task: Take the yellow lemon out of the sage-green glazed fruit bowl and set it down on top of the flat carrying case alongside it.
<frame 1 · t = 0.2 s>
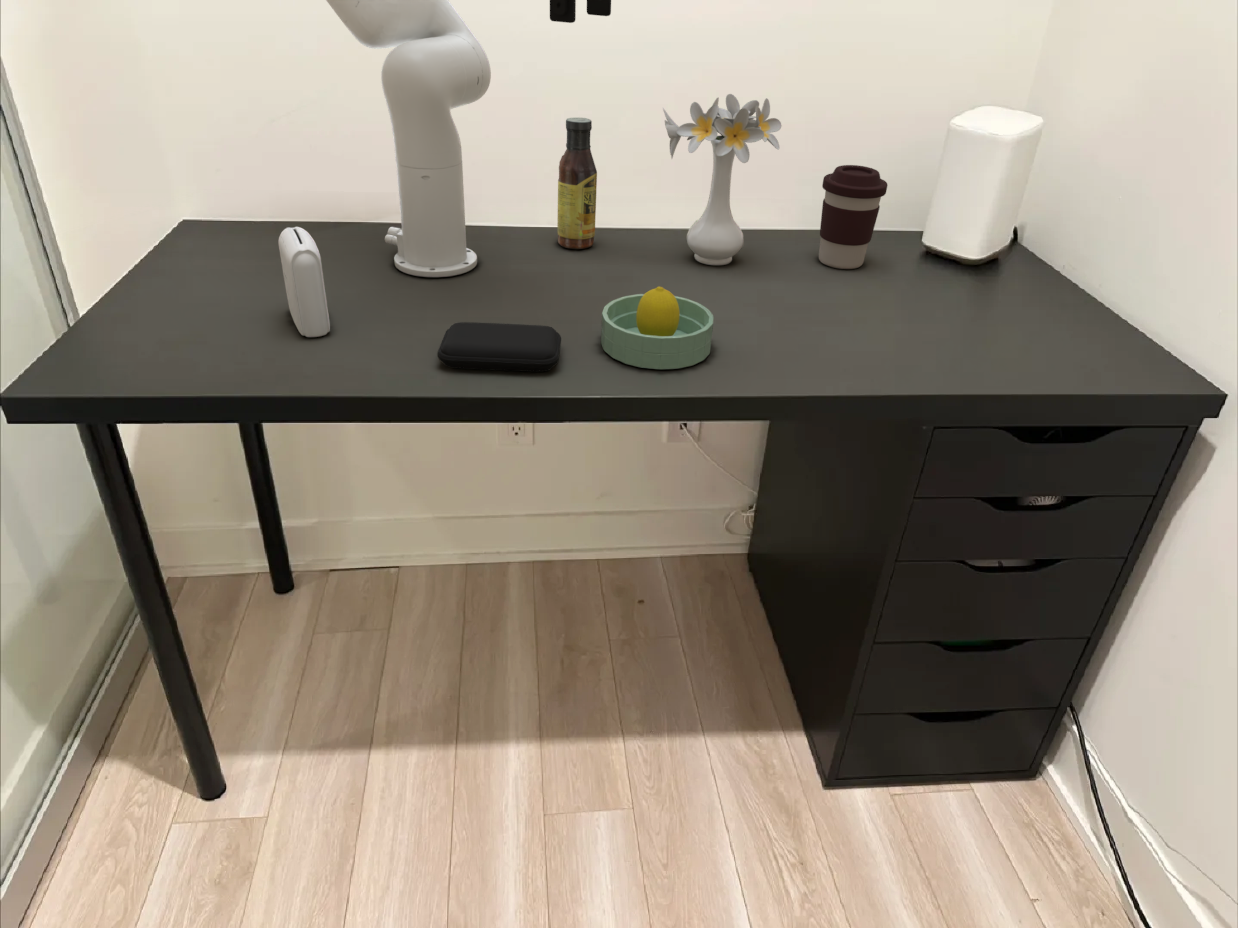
hand: (581, 18, 110), 36 cm above the table, tool pointing down, fingers open, 9 cm apart
lemon: (655, 346, 116), resting on fruit bowl
fruit bowl: (655, 346, 116), on the table
flower vase: (709, 261, 145), on the table
coffee cup: (840, 263, 147), on the table
sauce bottle: (576, 245, 149), on the table
photo printer: (310, 324, 118), on the table
carrying case: (501, 356, 112), on the table
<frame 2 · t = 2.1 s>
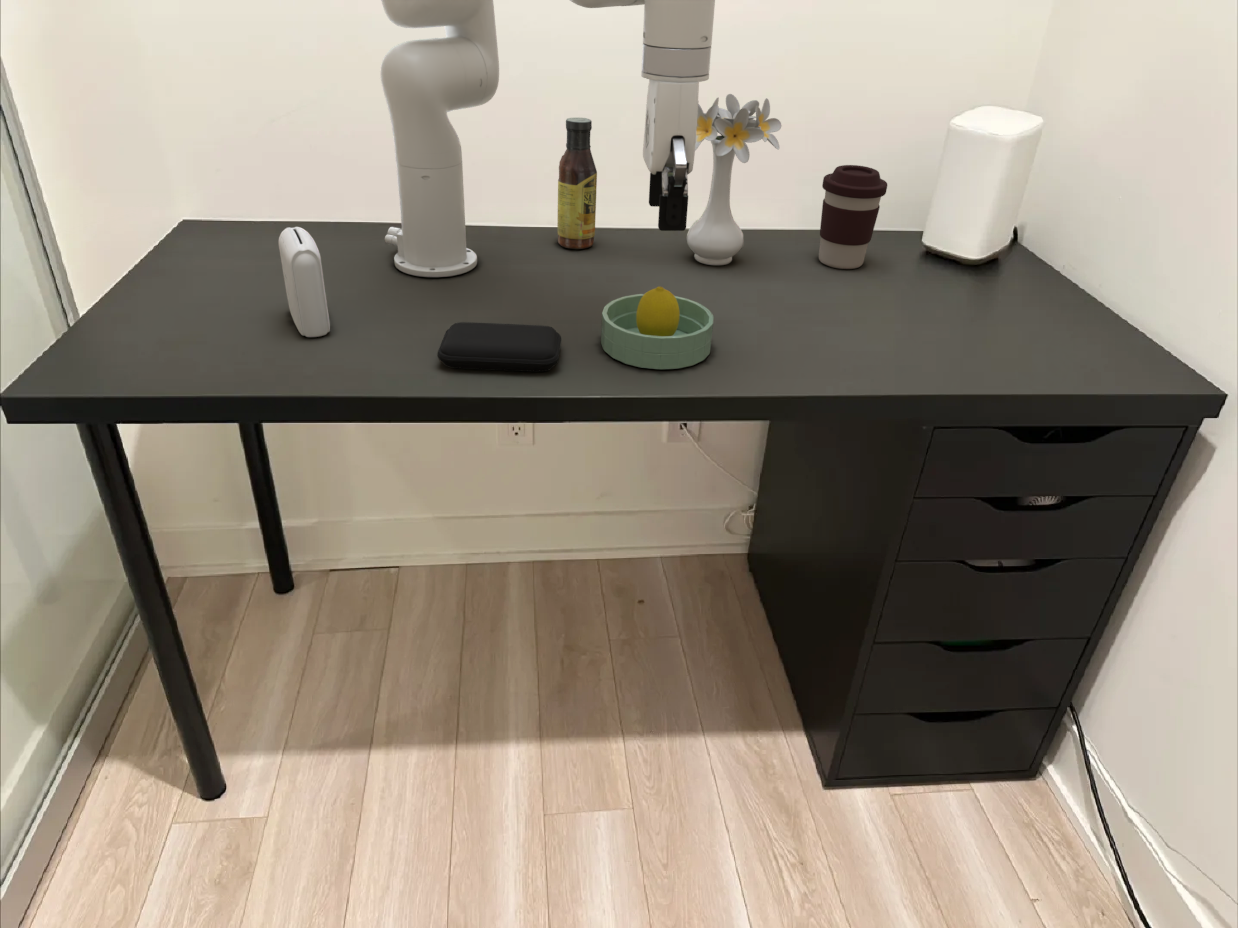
hand: (666, 217, 107), 17 cm above the table, tool pointing down, fingers open, 9 cm apart
nothing on the table moved.
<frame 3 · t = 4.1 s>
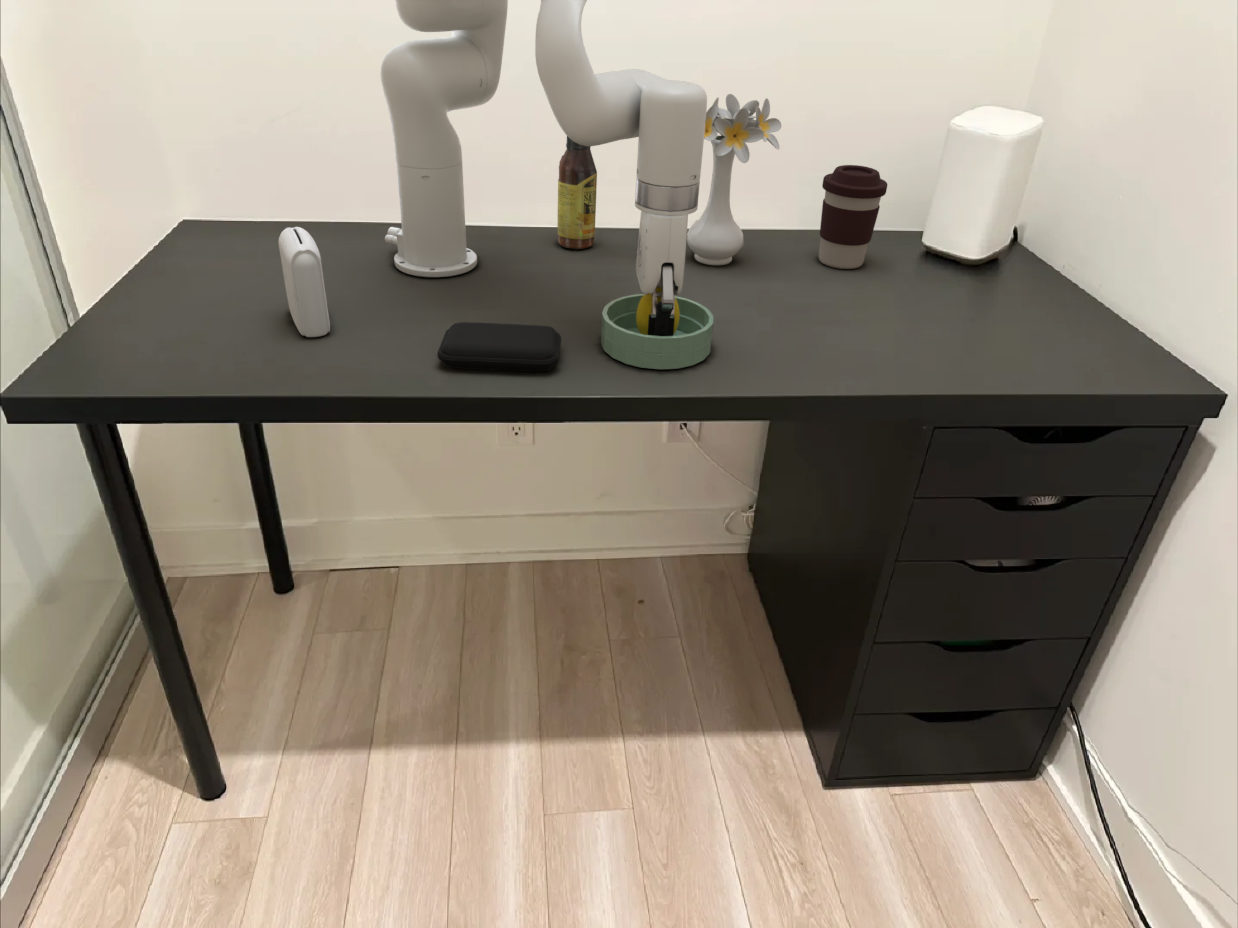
hand: (656, 333, 115), 2 cm above the table, tool pointing down, fingers closed on lemon, 5 cm apart
lemon: (655, 346, 116), resting on fruit bowl, touching gripper
everything else where it was.
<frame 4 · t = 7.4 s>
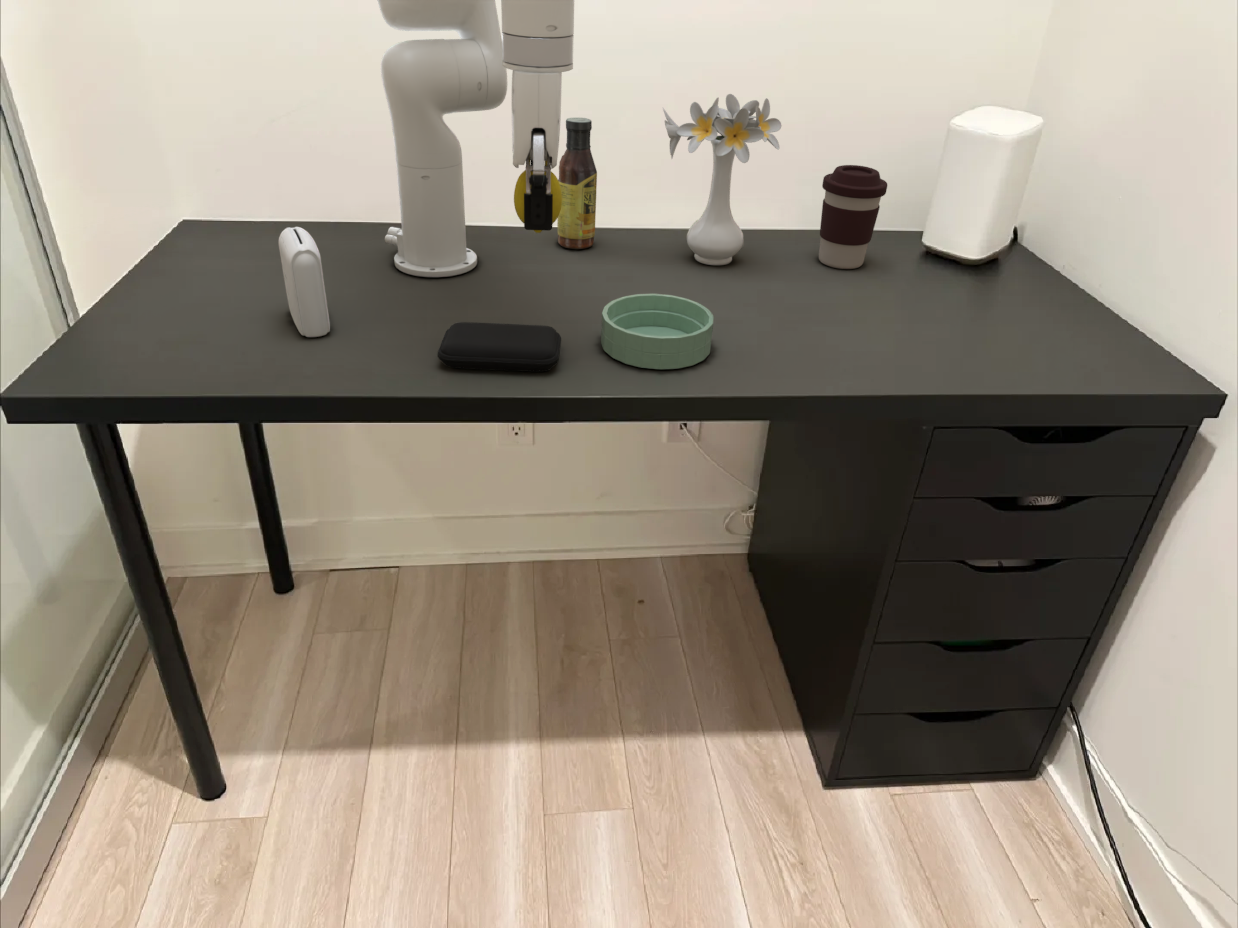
hand: (537, 218, 104), 17 cm above the table, tool pointing down, fingers closed on lemon, 5 cm apart
lemon: (538, 234, 105), point 15 cm above the table, touching gripper
everything else where it was.
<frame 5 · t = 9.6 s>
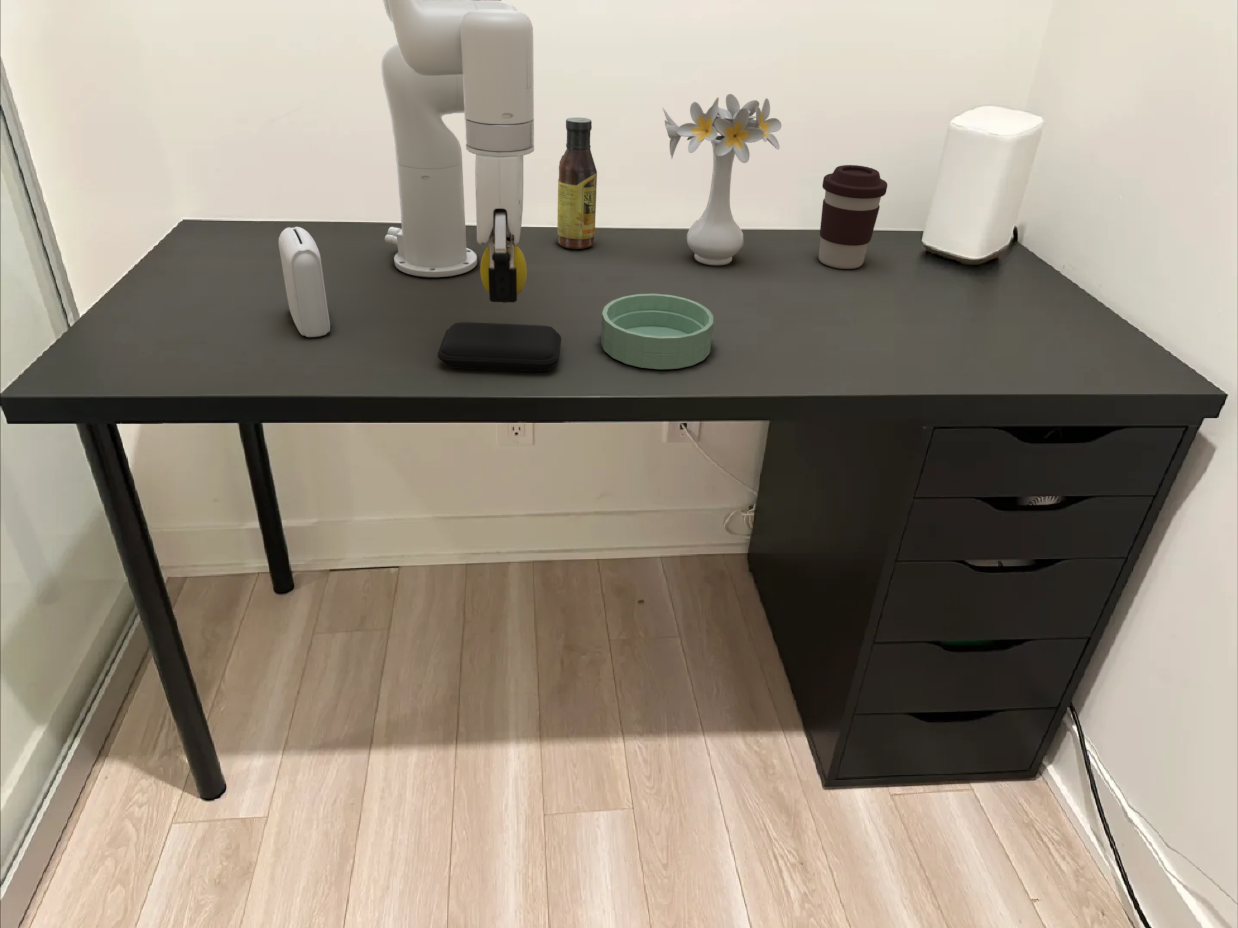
hand: (504, 289, 107), 9 cm above the table, tool pointing down, fingers closed on lemon, 5 cm apart
lemon: (504, 304, 108), point 7 cm above the table, touching gripper
everything else where it was.
when the fingers open (5 cm above the table, at t = 11.0 s): lemon stays where it is, resting on carrying case.
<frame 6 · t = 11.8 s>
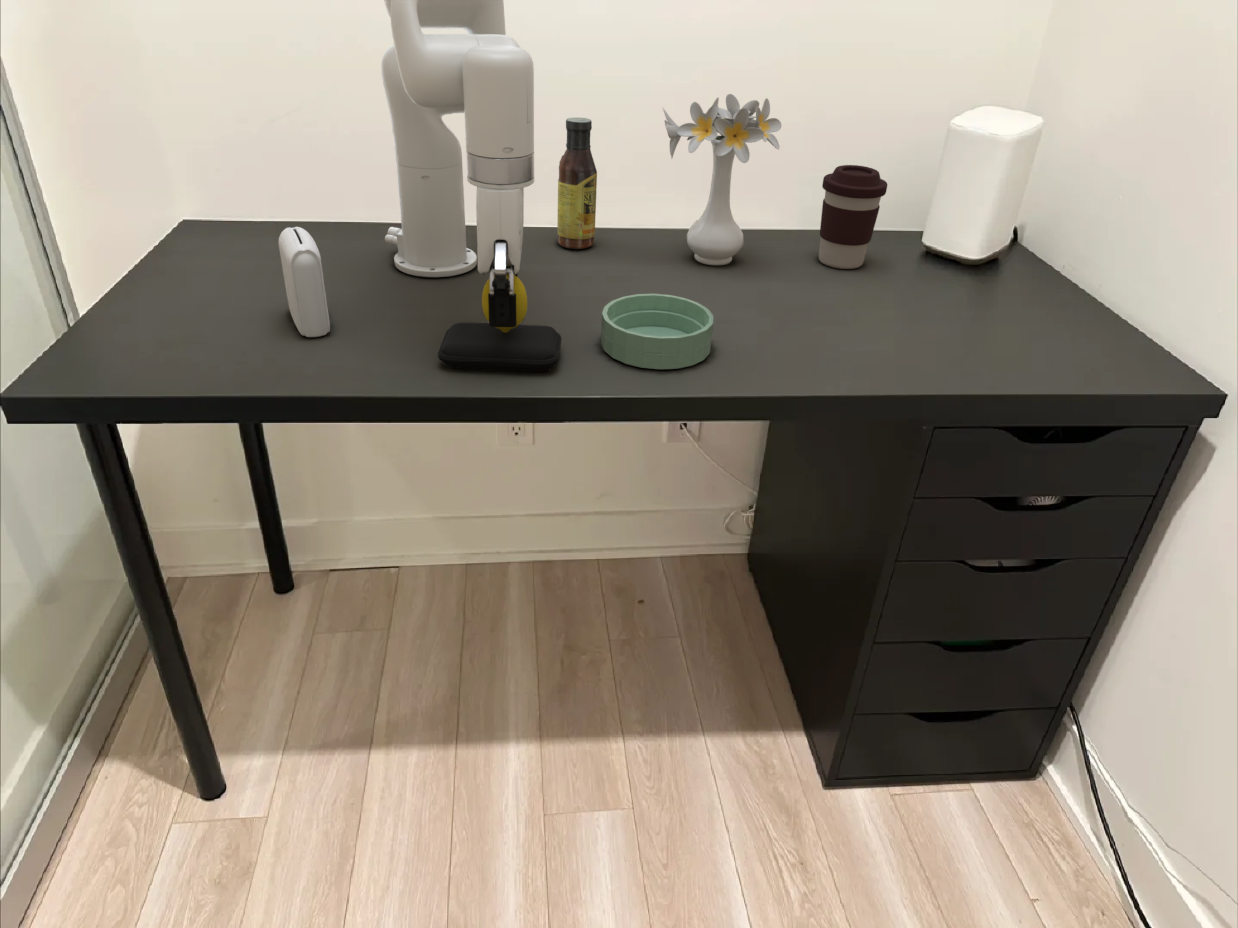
hand: (504, 309, 109), 6 cm above the table, tool pointing down, fingers open, 9 cm apart
lemon: (505, 333, 111), point 3 cm above the table, touching carrying case
carrying case: (501, 356, 112), on the table, touching lemon
everything else where it was.
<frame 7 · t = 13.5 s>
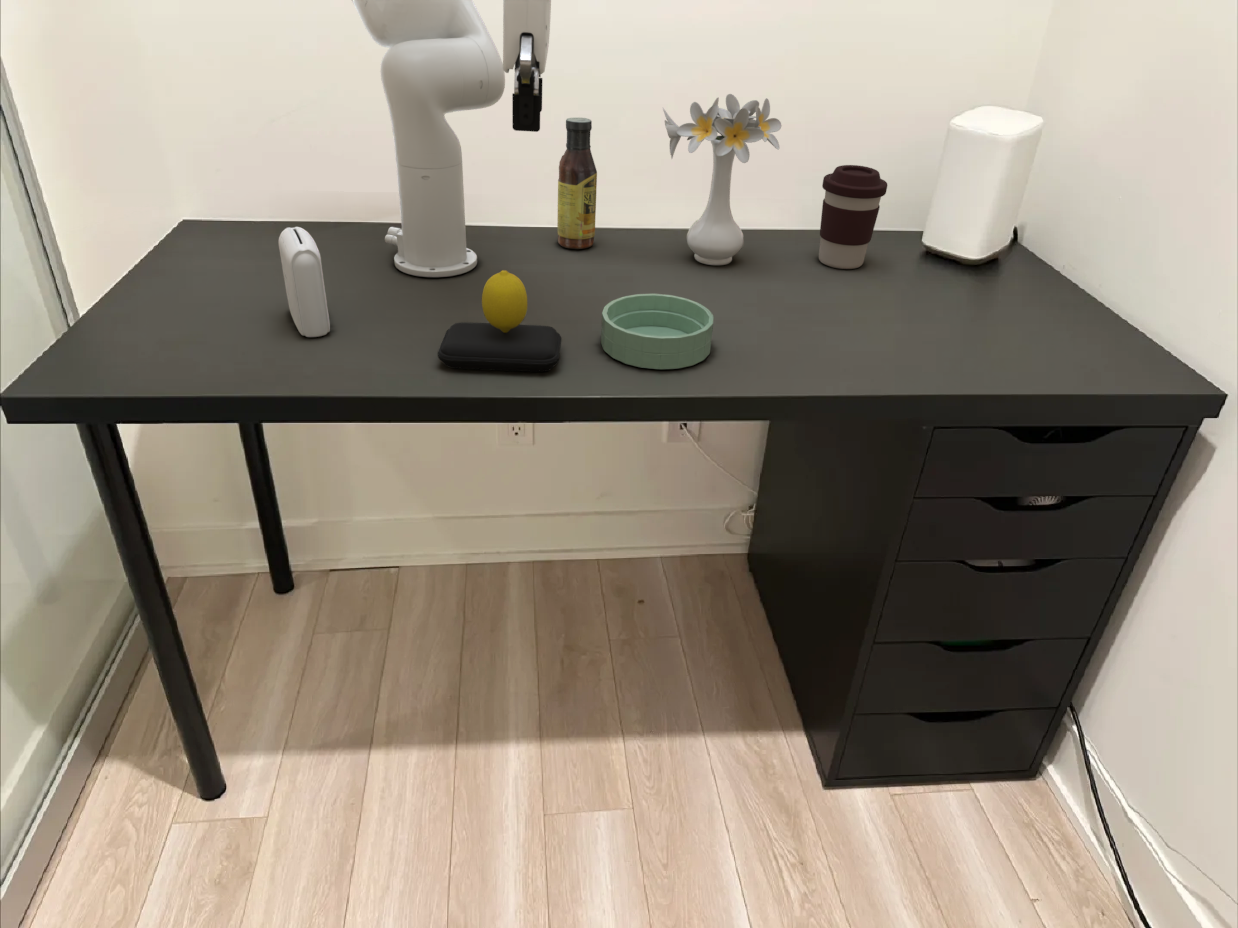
hand: (527, 120, 109), 26 cm above the table, tool pointing down, fingers open, 9 cm apart
nothing on the table moved.
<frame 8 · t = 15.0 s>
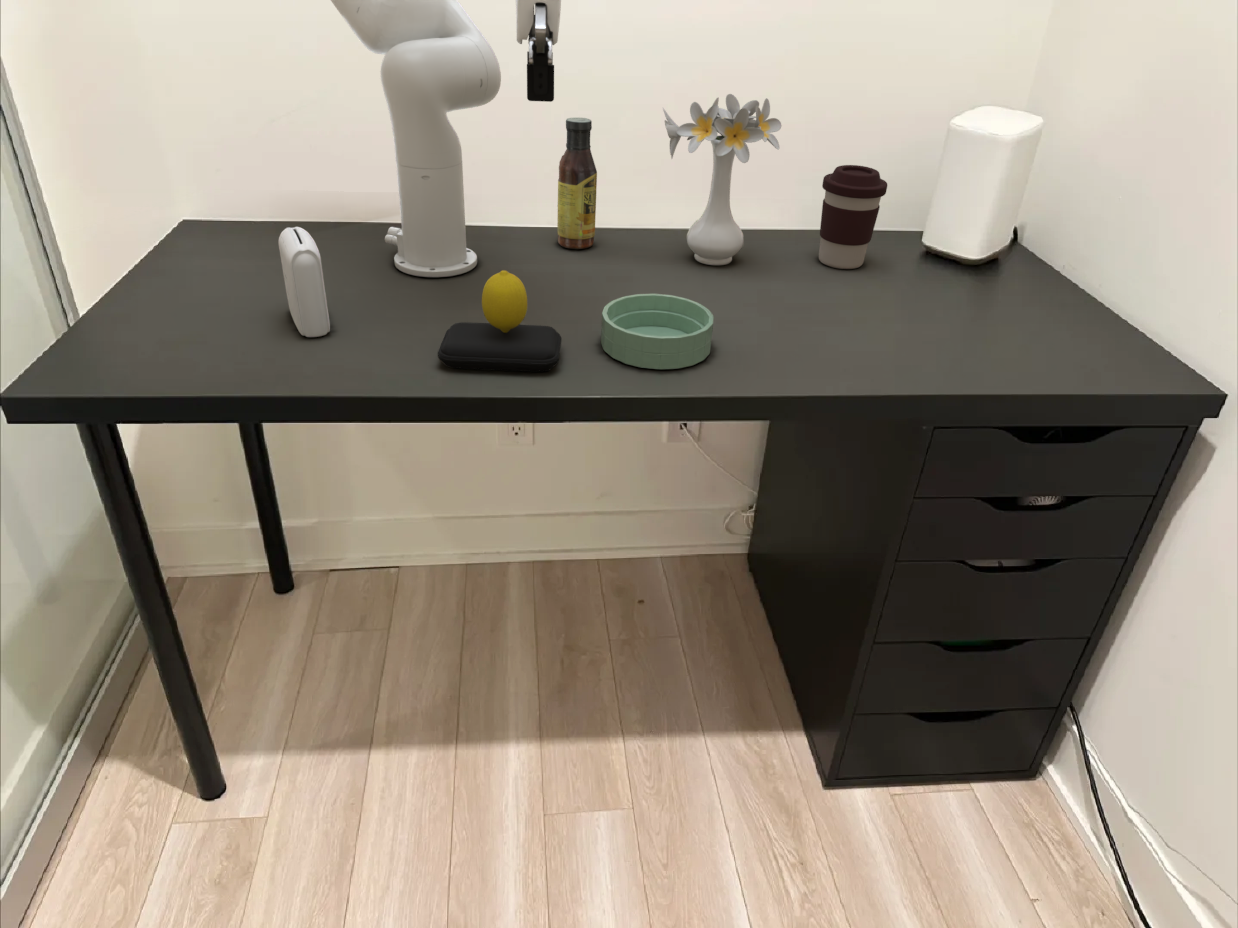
hand: (540, 92, 111), 28 cm above the table, tool pointing down, fingers open, 9 cm apart
nothing on the table moved.
at the end: lemon touching nothing; lemon inside the target area on the carrying case (0.6 cm from its centre), point 3.1 cm above the carrying case's base; carrying case moved 0.2 cm from its start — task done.
